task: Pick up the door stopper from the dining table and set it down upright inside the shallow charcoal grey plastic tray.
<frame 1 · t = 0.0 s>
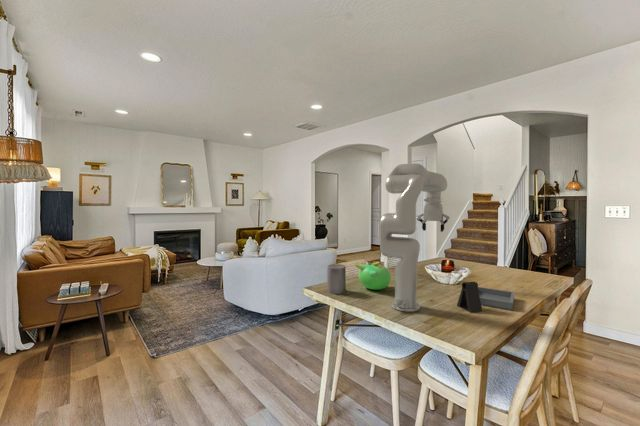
hand: (433, 230, 173), 31 cm above the table, tool pointing down, fingers open, 9 cm apart
door stopper: (469, 309, 136), on the table
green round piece: (373, 289, 166), on the table
pillar candle: (336, 292, 160), on the table
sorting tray: (491, 300, 147), on the table
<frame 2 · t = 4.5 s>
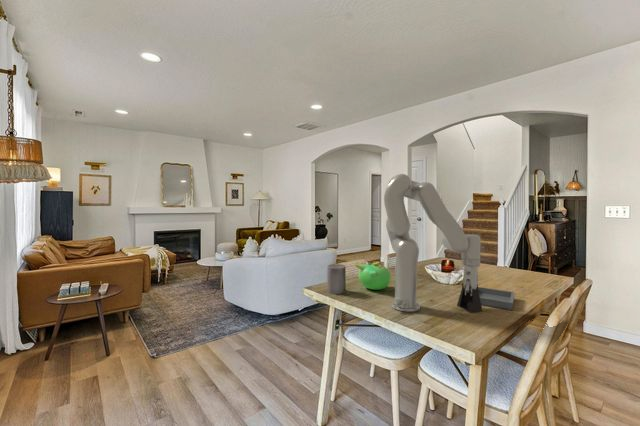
hand: (469, 301, 136), 3 cm above the table, tool pointing down, fingers closed on door stopper, 5 cm apart
door stopper: (469, 309, 136), on the table, touching gripper
everything else where it was.
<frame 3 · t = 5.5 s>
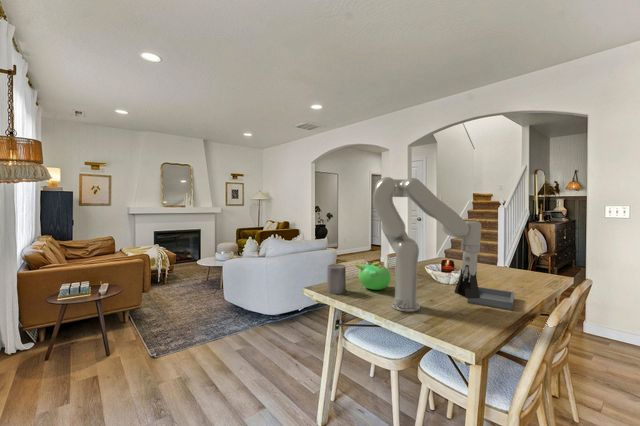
hand: (467, 288, 136), 9 cm above the table, tool pointing down, fingers closed on door stopper, 5 cm apart
door stopper: (466, 295, 136), point 6 cm above the table, touching gripper
everything else where it was.
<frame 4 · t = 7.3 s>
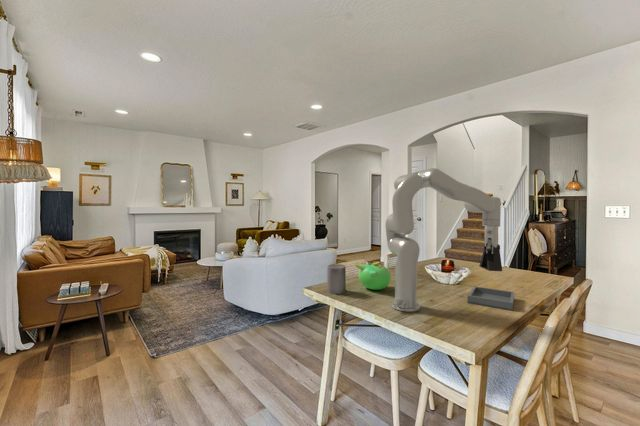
hand: (490, 260, 145), 20 cm above the table, tool pointing down, fingers closed on door stopper, 5 cm apart
door stopper: (490, 269, 145), point 16 cm above the table, touching gripper
everything else where it was.
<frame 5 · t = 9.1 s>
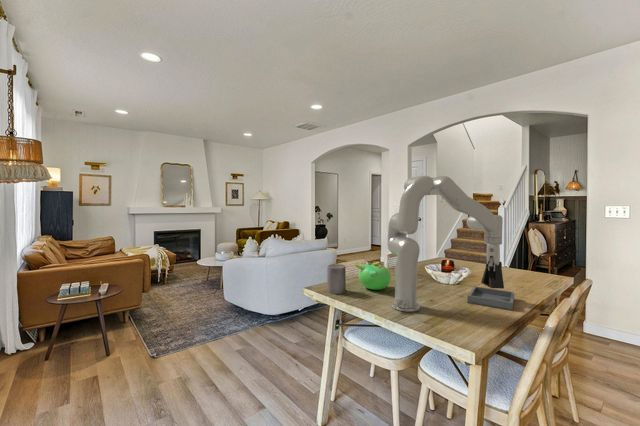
hand: (492, 277, 146), 11 cm above the table, tool pointing down, fingers closed on door stopper, 5 cm apart
door stopper: (492, 286, 146), point 7 cm above the table, touching gripper
everything else where it was.
when the fingers open (5 cm above the table, at t = 10.7 s): door stopper stays where it is, resting on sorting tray.
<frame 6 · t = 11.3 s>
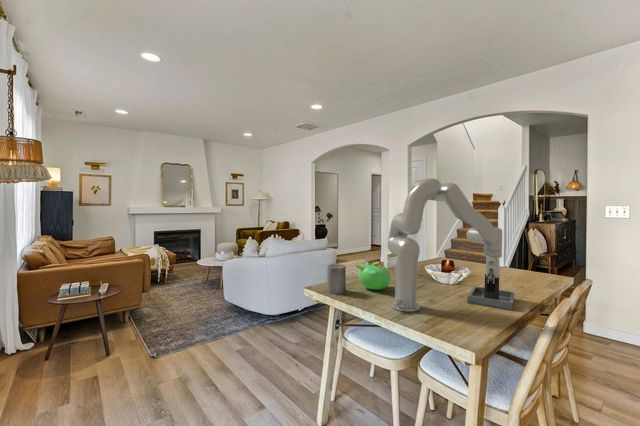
hand: (491, 289, 146), 6 cm above the table, tool pointing down, fingers open, 7 cm apart
door stopper: (491, 299, 147), point 1 cm above the table, touching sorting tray
everything else where it was.
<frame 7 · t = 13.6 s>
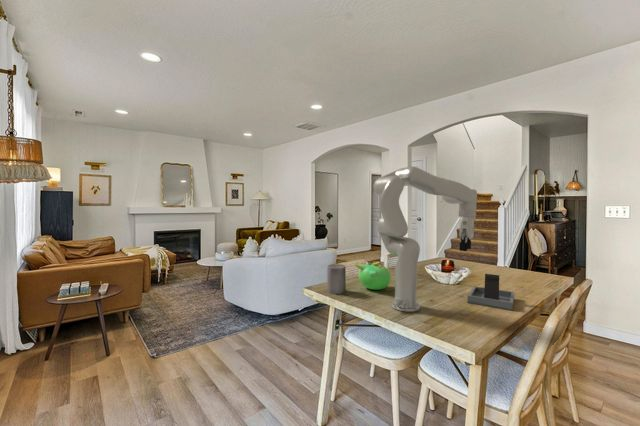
hand: (465, 249, 147), 25 cm above the table, tool pointing down, fingers open, 9 cm apart
nothing on the table moved.
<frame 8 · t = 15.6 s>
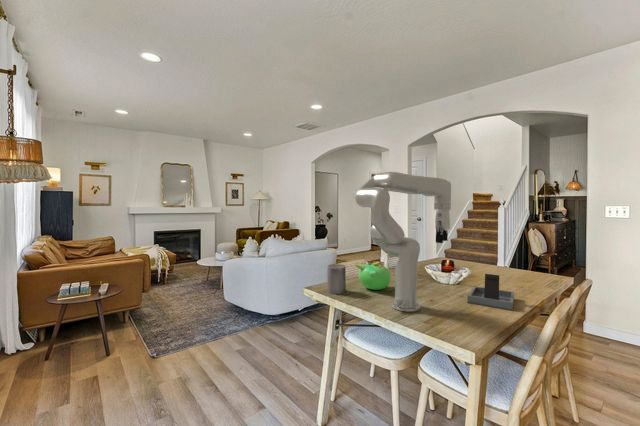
hand: (441, 241, 148), 28 cm above the table, tool pointing down, fingers open, 9 cm apart
nothing on the table moved.
at the end: door stopper inside the target area on the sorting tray (0.2 cm from its centre), point 0.6 cm above the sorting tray's base; door stopper tilted 0°; the gripper is holding nothing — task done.
